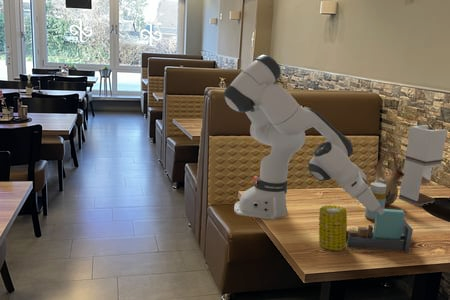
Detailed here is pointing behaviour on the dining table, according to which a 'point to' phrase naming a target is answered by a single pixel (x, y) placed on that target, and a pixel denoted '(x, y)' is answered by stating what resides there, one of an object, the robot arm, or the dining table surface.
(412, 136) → the white model tower
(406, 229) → the rack
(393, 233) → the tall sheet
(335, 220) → the food
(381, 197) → the bottle
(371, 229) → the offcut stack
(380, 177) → the ceramic vessel
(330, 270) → the dining table surface
